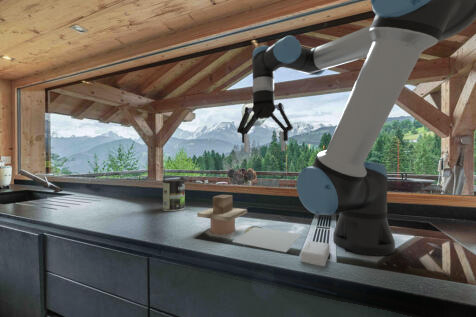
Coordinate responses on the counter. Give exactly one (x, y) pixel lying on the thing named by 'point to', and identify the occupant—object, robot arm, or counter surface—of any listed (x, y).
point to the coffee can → (173, 194)
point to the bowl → (222, 226)
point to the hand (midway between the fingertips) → (264, 151)
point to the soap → (315, 253)
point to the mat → (268, 239)
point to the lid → (222, 209)
